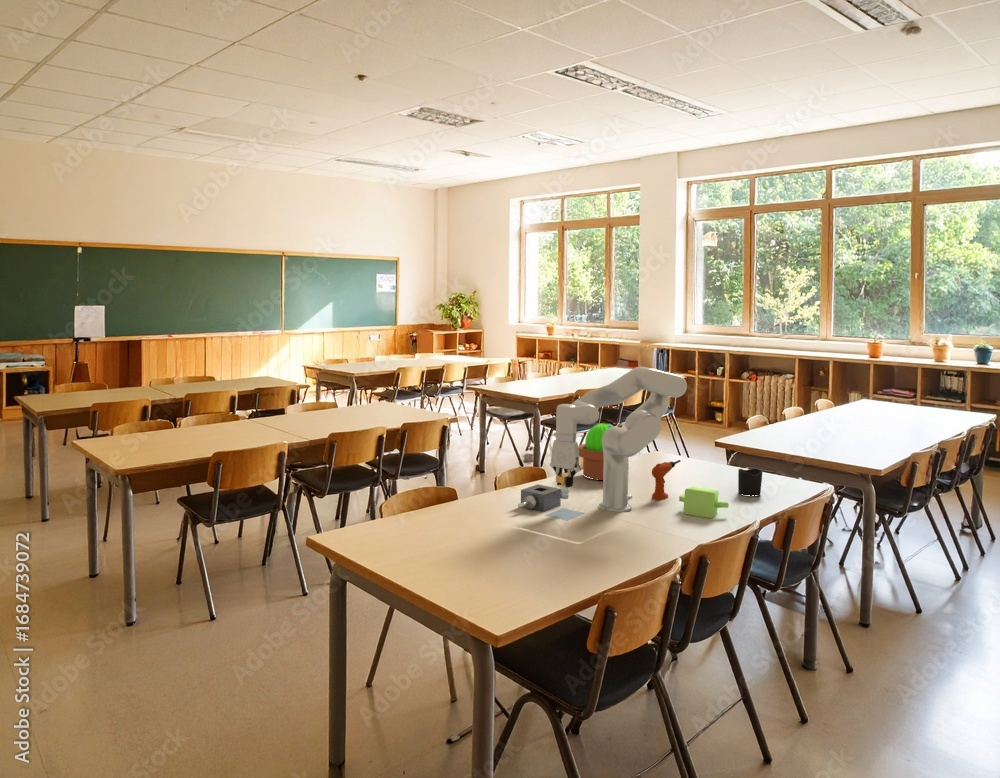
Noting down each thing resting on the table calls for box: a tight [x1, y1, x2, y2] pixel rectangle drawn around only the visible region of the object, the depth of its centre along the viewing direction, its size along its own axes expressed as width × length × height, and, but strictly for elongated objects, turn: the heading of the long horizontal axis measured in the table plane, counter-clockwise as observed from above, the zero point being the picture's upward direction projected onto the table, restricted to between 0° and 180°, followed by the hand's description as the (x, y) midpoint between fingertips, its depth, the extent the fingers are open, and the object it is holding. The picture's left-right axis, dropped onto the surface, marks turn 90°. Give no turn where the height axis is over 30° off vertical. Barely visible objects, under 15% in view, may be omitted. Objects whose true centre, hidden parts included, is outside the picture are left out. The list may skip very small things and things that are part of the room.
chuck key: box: [555, 472, 575, 500], centre depth 276 cm, size 6×4×9 cm, turn 141°
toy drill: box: [651, 459, 682, 501], centre depth 302 cm, size 5×19×15 cm, turn 132°
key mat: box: [545, 508, 586, 521], centre depth 275 cm, size 12×10×1 cm
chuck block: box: [517, 483, 562, 513], centre depth 282 cm, size 19×11×7 cm, turn 141°
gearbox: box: [678, 485, 729, 519], centre depth 278 cm, size 18×10×10 cm, turn 58°
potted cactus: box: [578, 422, 615, 480], centre depth 332 cm, size 22×22×25 cm
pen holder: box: [737, 468, 763, 496], centre depth 305 cm, size 9×9×10 cm
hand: (564, 485), depth 276 cm, fingers closed on chuck key, 3 cm apart
